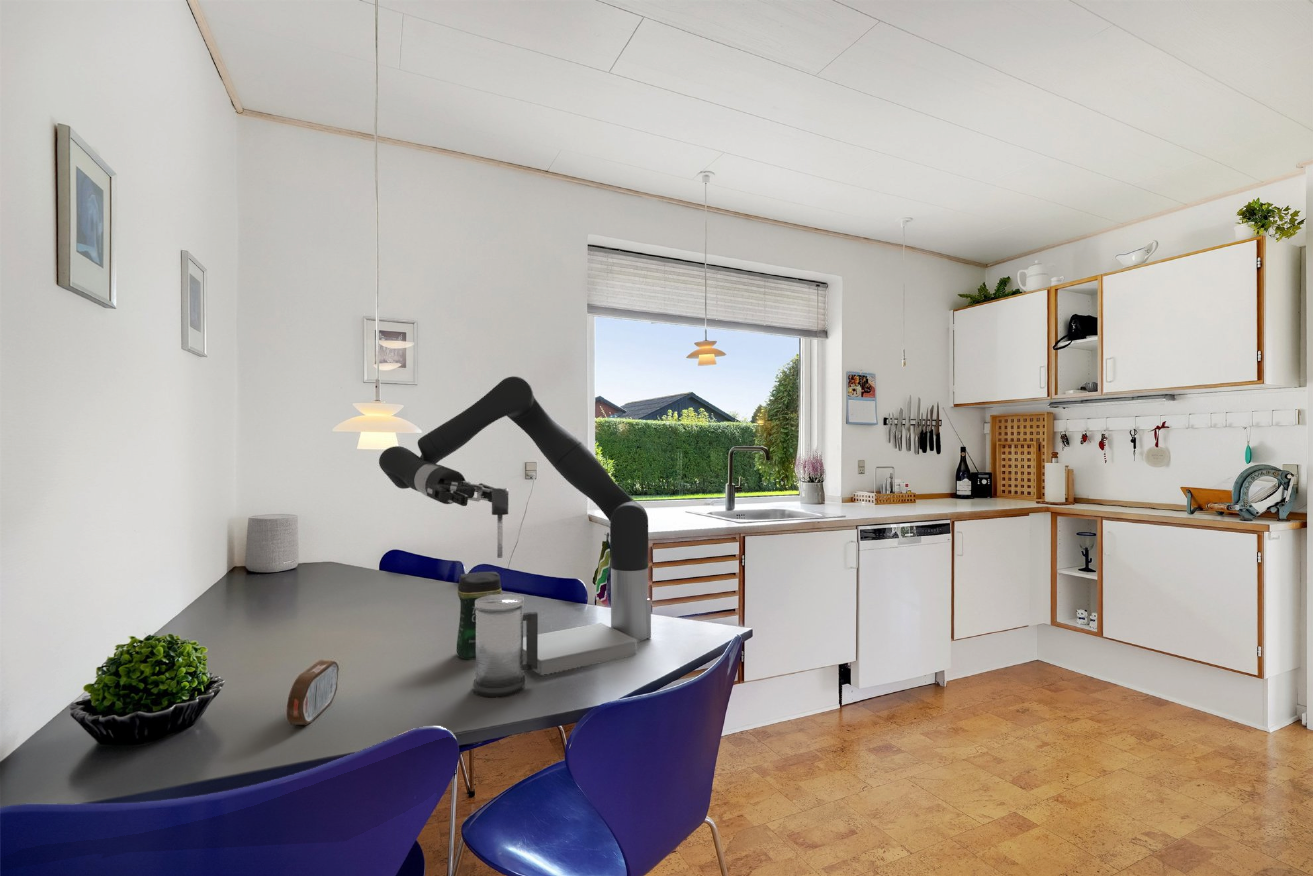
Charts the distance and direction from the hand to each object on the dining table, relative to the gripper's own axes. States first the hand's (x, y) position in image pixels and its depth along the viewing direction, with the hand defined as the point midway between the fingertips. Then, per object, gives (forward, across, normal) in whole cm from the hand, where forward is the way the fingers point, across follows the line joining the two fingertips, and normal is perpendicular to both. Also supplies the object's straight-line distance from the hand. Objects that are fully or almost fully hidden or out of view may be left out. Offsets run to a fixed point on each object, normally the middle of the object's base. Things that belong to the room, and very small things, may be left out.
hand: (484, 500), depth 130 cm
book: (+11, +23, +34) cm, 43 cm away
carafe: (+15, +1, +34) cm, 37 cm away
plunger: (+9, -1, +9) cm, 13 cm away
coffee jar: (-6, +10, +38) cm, 39 cm away
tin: (-2, -28, +39) cm, 48 cm away
